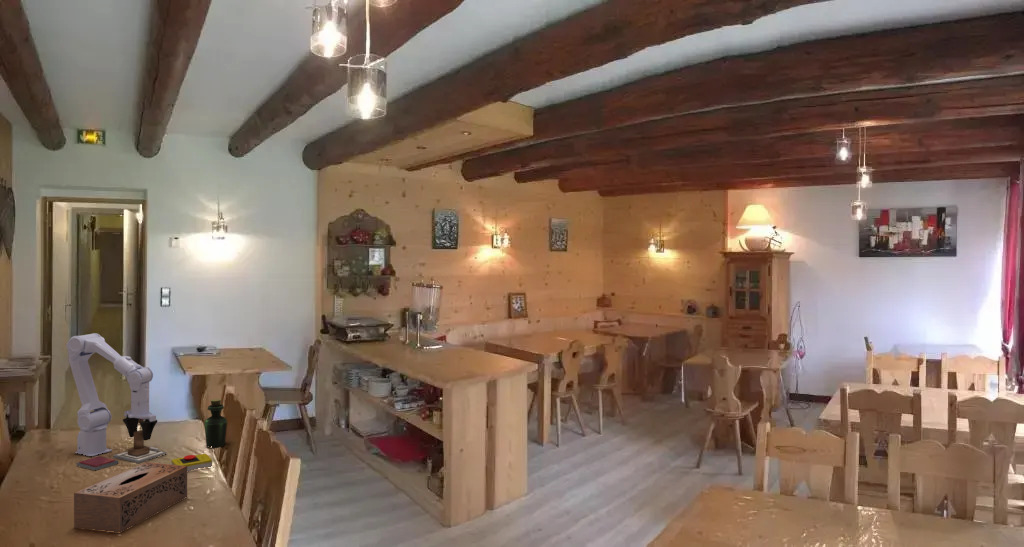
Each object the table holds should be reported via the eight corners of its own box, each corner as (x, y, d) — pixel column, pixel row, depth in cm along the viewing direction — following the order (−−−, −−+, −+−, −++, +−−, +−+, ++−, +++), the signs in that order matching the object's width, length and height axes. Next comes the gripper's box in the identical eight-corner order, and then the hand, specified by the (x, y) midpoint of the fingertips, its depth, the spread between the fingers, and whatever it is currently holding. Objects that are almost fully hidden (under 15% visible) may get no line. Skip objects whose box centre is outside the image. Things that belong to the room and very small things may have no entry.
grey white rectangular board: (112, 457, 228) (112, 453, 228) (141, 449, 238) (141, 444, 238) (138, 463, 222) (138, 459, 222) (166, 454, 232) (166, 450, 232)
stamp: (127, 455, 228) (127, 432, 228) (140, 451, 233) (140, 429, 233) (136, 457, 226) (136, 434, 226) (149, 453, 231) (149, 430, 231)
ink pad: (76, 466, 218) (76, 462, 218) (99, 459, 226) (99, 455, 226) (94, 470, 214) (94, 466, 214) (117, 463, 222) (117, 459, 222)
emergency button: (166, 456, 219) (212, 448, 228) (166, 469, 219) (212, 460, 229) (172, 463, 212) (219, 455, 221) (172, 476, 212) (219, 467, 221)
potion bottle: (202, 449, 239) (202, 402, 238) (206, 443, 247) (206, 397, 246) (225, 448, 241) (225, 401, 240) (228, 442, 249) (228, 397, 248)
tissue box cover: (146, 493, 196) (146, 462, 196) (187, 498, 193) (187, 466, 193) (74, 529, 171) (73, 492, 171) (119, 534, 168) (119, 497, 168)
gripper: (116, 401, 229) (116, 438, 229) (143, 406, 223) (143, 444, 223) (134, 397, 235) (134, 433, 236) (161, 402, 229) (161, 438, 230)
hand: (140, 438), depth 230 cm, fingers open, 7 cm apart
